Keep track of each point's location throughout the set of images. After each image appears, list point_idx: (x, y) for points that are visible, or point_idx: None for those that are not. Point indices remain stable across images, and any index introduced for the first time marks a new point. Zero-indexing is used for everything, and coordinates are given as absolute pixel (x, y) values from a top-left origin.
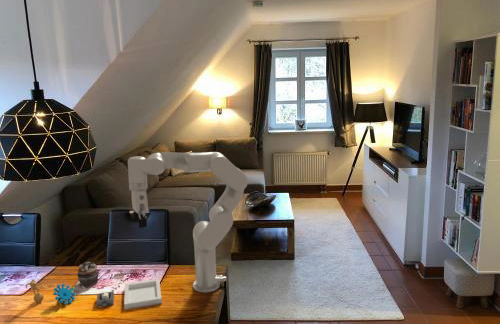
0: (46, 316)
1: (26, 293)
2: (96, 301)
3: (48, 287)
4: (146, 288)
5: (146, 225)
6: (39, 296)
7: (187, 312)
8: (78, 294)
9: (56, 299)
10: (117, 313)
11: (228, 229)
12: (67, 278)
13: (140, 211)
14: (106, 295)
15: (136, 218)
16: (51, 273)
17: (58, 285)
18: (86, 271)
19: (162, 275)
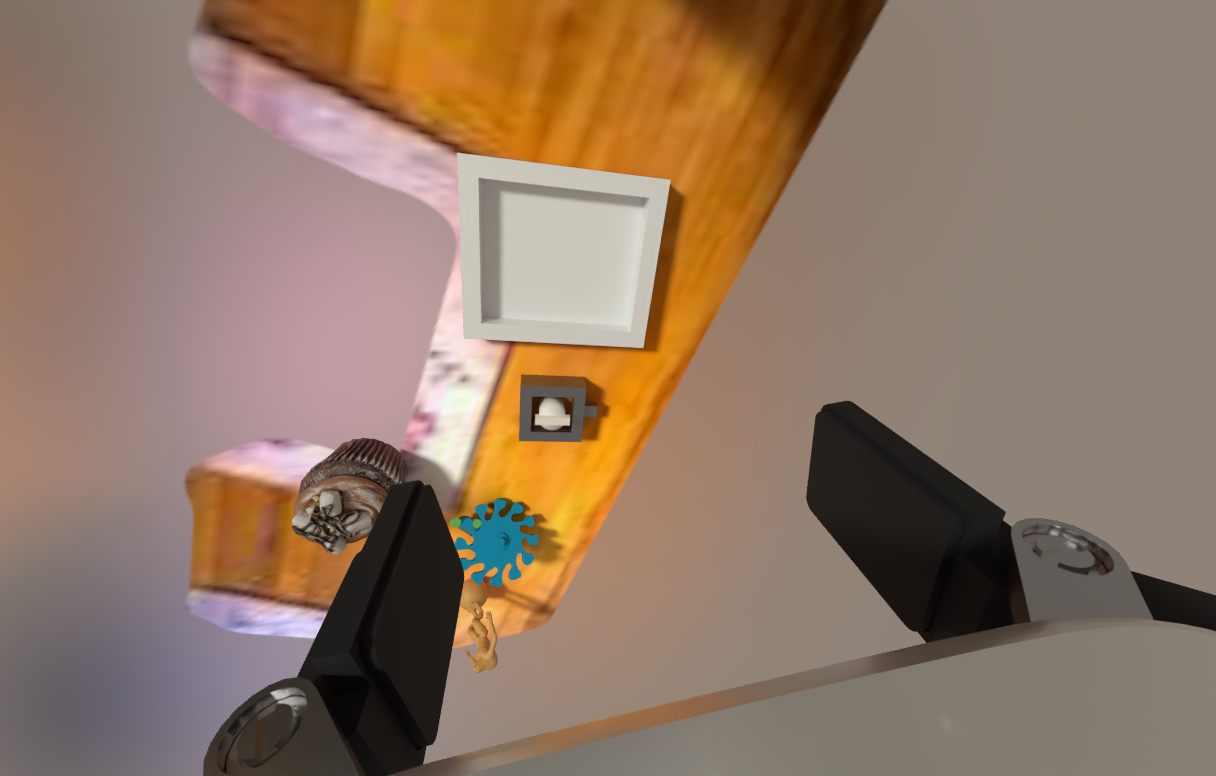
0: (573, 549)
1: None
2: (578, 441)
3: None
4: (507, 235)
5: (859, 412)
6: (482, 597)
7: (795, 63)
8: (461, 490)
9: (532, 557)
10: (651, 363)
11: None
12: None
13: (357, 644)
14: (560, 413)
15: (449, 570)
16: (258, 589)
17: (479, 581)
18: (377, 514)
19: (359, 114)
